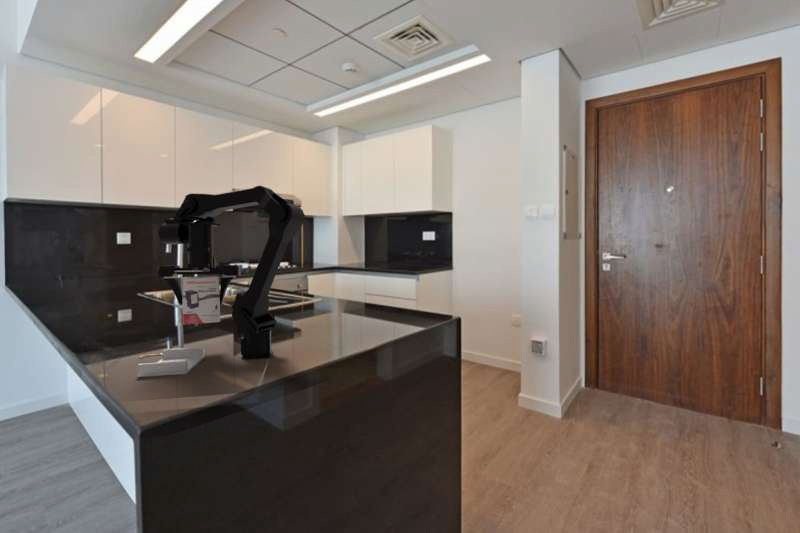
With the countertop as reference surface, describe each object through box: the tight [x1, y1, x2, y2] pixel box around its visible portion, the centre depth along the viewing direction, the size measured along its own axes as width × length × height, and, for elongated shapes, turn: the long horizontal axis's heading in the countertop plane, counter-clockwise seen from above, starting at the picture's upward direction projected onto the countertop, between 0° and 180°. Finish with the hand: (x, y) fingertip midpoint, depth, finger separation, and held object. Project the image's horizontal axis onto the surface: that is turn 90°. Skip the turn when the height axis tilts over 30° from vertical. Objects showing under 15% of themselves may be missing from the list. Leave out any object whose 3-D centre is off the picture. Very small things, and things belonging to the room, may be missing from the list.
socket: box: [137, 346, 206, 378], centre depth 88 cm, size 9×14×2 cm, turn 13°
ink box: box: [181, 275, 221, 326], centre depth 101 cm, size 8×5×12 cm, turn 120°
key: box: [139, 352, 162, 360], centre depth 97 cm, size 6×2×1 cm, turn 123°
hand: (201, 304), depth 101 cm, fingers closed on ink box, 9 cm apart
